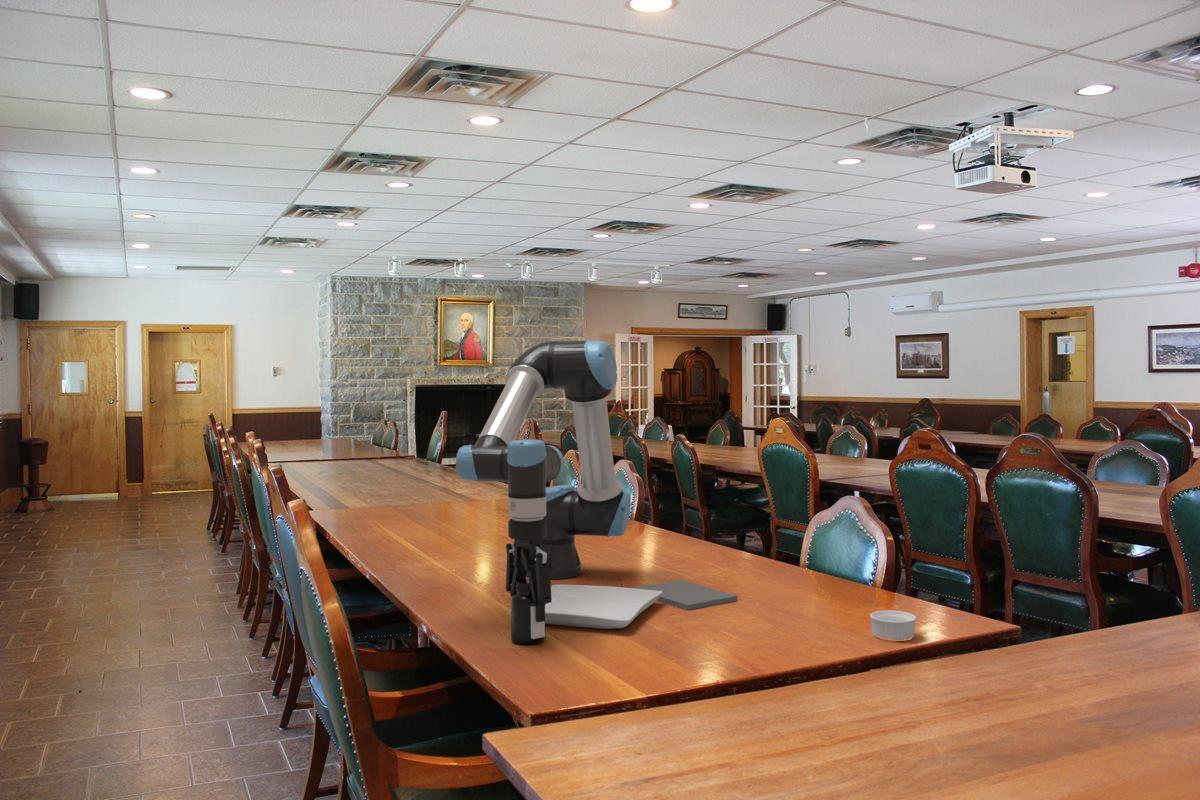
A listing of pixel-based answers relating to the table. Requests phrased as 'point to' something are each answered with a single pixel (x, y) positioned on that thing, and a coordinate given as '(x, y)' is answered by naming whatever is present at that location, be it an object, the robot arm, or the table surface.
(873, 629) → the ramekin
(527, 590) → the supplement bottle
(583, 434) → the robot arm
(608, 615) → the square plate
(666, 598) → the folder
